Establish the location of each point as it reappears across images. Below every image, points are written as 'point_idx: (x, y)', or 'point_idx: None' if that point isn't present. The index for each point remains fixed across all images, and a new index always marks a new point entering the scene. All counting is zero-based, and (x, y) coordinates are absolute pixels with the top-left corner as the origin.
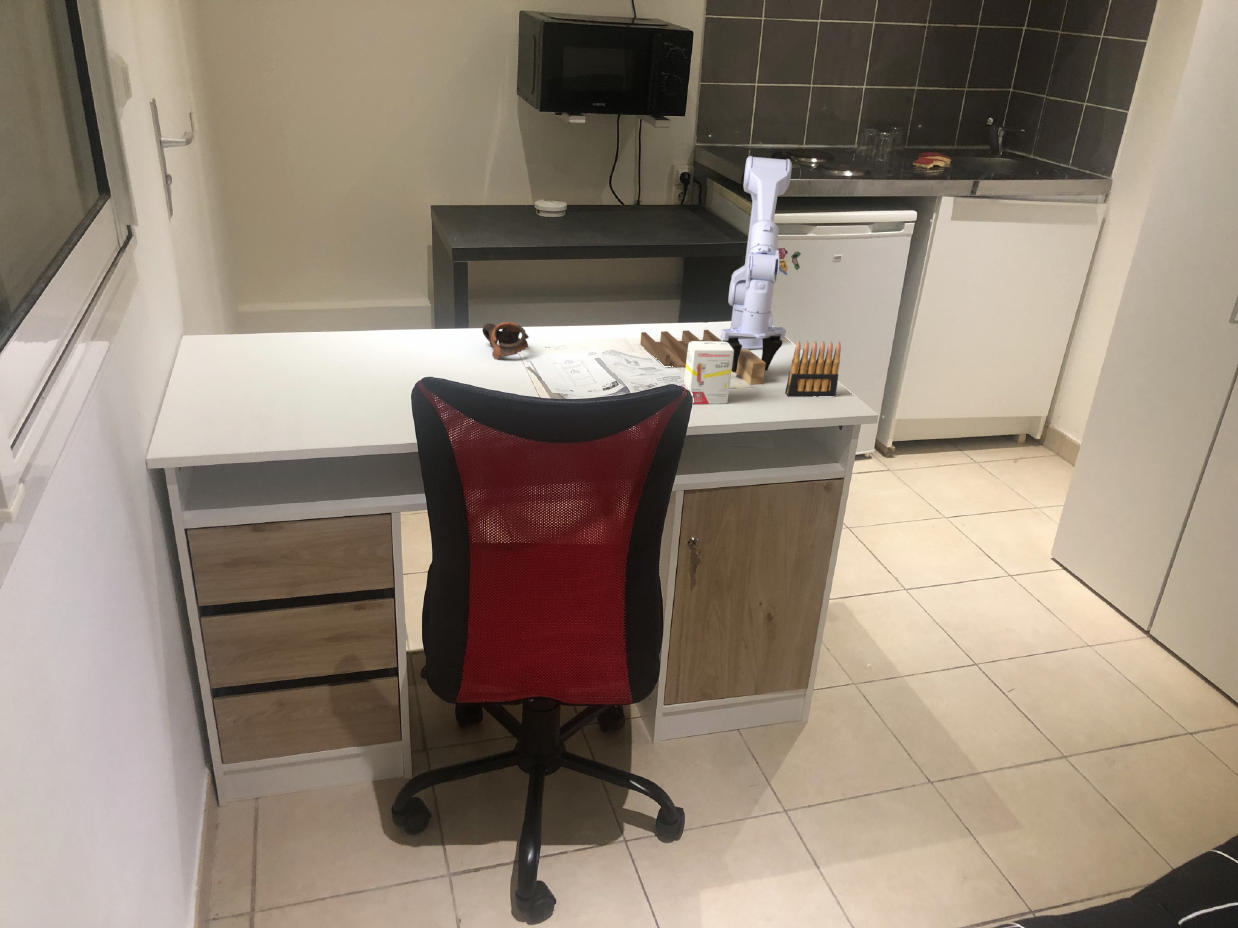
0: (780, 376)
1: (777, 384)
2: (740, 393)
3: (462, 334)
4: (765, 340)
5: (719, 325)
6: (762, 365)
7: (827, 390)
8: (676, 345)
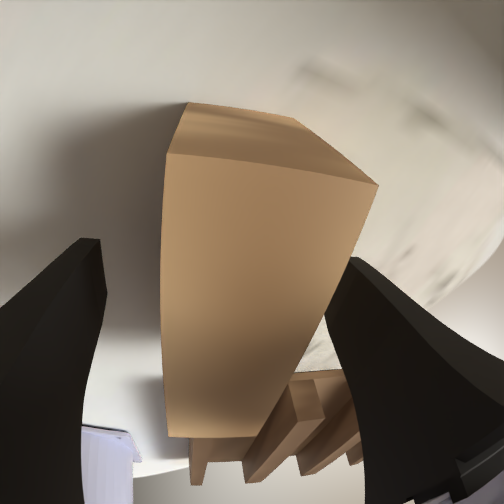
0: (9, 215)
1: (76, 81)
2: (438, 39)
3: None
4: (64, 497)
5: None
6: (219, 148)
7: None
8: (360, 439)
